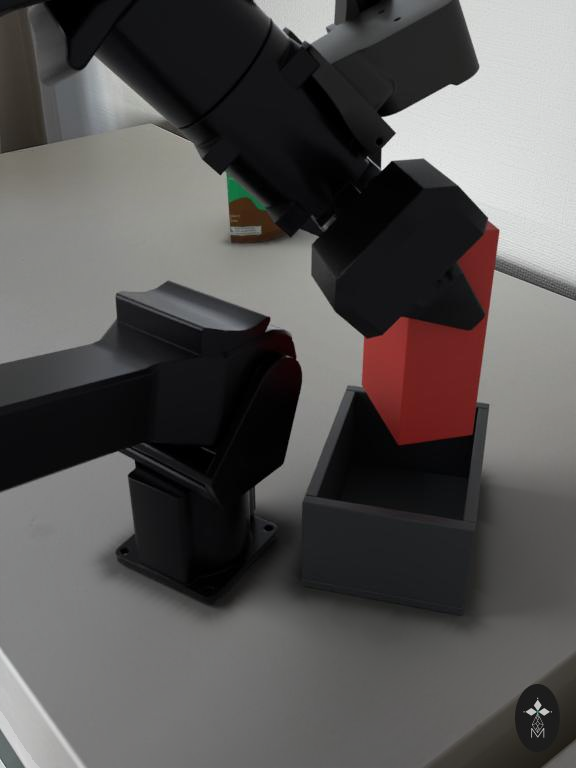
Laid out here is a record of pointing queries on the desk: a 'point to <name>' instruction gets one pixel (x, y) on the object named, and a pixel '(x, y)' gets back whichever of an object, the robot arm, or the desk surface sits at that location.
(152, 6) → the robot arm
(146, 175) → the desk surface
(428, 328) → the block
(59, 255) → the desk surface
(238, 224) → the food container
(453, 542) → the bin
